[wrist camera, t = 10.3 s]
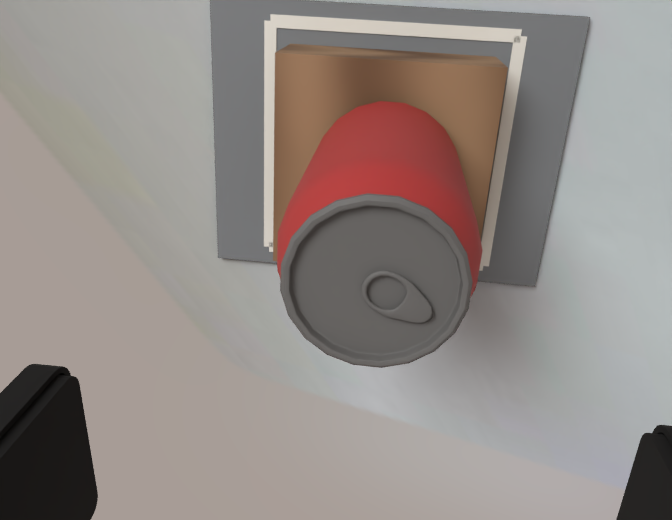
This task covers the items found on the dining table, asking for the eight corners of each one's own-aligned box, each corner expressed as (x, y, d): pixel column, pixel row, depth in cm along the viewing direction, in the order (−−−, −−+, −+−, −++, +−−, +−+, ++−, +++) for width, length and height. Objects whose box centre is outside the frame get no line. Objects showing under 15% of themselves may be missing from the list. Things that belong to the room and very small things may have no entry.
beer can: (407, 261, 31) (408, 417, 20) (290, 192, 30) (224, 316, 19) (488, 148, 28) (540, 257, 17) (362, 69, 27) (333, 131, 16)
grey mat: (587, 16, 29) (590, 17, 29) (533, 283, 35) (535, 286, 35) (212, -6, 31) (209, -5, 30) (220, 254, 37) (217, 258, 36)
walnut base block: (495, 56, 30) (507, 67, 27) (467, 247, 34) (474, 279, 31) (290, 43, 31) (275, 52, 27) (287, 231, 35) (272, 260, 31)
